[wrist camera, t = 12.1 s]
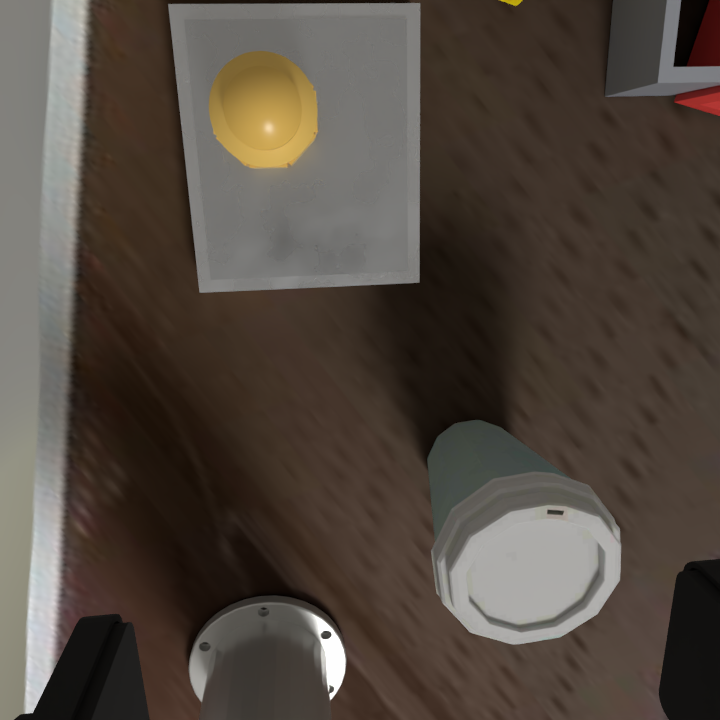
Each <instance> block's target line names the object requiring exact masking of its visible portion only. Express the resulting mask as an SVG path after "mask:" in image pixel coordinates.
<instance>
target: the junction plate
mask: <svg viewBox="0 0 720 720" xmlns="http://www.w3.org/2000/svg"><path fill="white" fill-rule="evenodd" d="M168 7H169V16H170V25H171V34H172V44H173V53H174V62H175V71H176V80H177V90H178V99H179V108H180V117H181V126H182V136H183V145H184V154H185V163H186V172H187V182H188V191H189V200H190V209H191V218H192V228H193V237H194V246H195V255H196V264H197V274H198V283H199V292H200V293H203V292H225V291H247V290H270V289H292V288H314V287H336V286H358V285H380V284H402V283H420V3H327V4H168ZM252 51H268V52H273V53H276V54H279V55H282V56H283V57H286V58H287V59H289V60H290V61H292V62H293V63H295V64H296V65H297V66H298V67H299V68H300V69H301V70H302V71H303V73H304V74H305V75H306V77H307V78H308V80H309V81H310V83H311V84H312V85H313V86H314V91H316V101H317V127H318V133H317V135H316V138H315V140H314V141H313V142H312V144H311V145H310V146H309V147H308V148H307V149H306V150H305V151H304V153H303V154H302V155H301V156H300V157H299V158H298V159H297V161H296V162H295V163H294V164H293V165H292V166H291V165H290V164H289V163H288V168H255V169H254V168H249V167H247V166H245V165H244V164H243V163H241V162H240V161H239V160H238V159H237V158H236V157H235V156H233V155H232V154H231V153H230V152H228V150H227V149H226V148H225V147H224V146H223V145H222V144H221V143H220V142H219V141H218V140H217V139H216V137H217V136H216V135H214V133H213V127H212V124H211V120H210V115H209V96H210V91H211V87H212V85H213V82H214V80H215V78H216V76H217V75H218V73H219V72H220V70H221V69H222V68H223V67H224V66H225V65H226V64H227V63H228V62H229V61H231V60H232V59H234V58H235V57H237V56H239V55H242V54H244V53H248V52H252Z"/></svg>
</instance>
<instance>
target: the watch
mask: <svg viewBox="0 0 720 720" xmlns="http://www.w3.org/2000/svg"><path fill="white" fill-rule="evenodd" d="M500 1H503V2H506V3H509V4H512V5H515V6H516V5H518V4H519V3H520V2H521V1H523V0H500Z"/></svg>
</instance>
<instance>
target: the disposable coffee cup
mask: <svg viewBox="0 0 720 720" xmlns="http://www.w3.org/2000/svg"><path fill="white" fill-rule="evenodd" d="M427 462H428V473H429V483H430V493H431V503H432V514H433V524H434V534H435V544H434V546H433V548H432V550H431V554H432V562H433V570H434V577H435V585H436V593H437V594H438V595H439V596H440V598H441V601H442V603H443V604H444V605H445V606H446V607H447V608H448V609H449V610H450V611H451V612H452V613H453V615H454V616H455V617H456V618H457V619H458V620H459V621H460V622H461V623H462V624H463V625H464V626H465V627H466V628H467V630H468V631H469V632H470V633H474V634H477V635H481V636H485V637H488V638H492V639H495V640H499V641H502V642H506V643H509V644H523V643H529V642H535V641H541V640H547V639H553V638H558V637H561V636H563V635H565V634H566V633H568V632H569V631H571V630H573V629H574V628H576V627H577V626H579V625H581V624H582V623H584V622H585V621H587V620H589V619H590V618H592V617H593V616H595V615H597V614H598V612H599V611H600V609H601V608H602V606H603V605H604V603H605V602H606V600H607V599H608V597H609V596H610V594H611V593H612V591H613V590H614V588H615V587H616V585H617V584H618V582H619V581H620V571H621V565H620V563H621V543H620V529H619V527H618V526H617V525H616V523H615V519H614V518H613V516H612V515H611V514H610V512H609V511H608V510H607V509H606V507H605V506H604V505H603V503H602V502H601V501H600V499H599V498H598V497H597V495H596V494H595V493H594V491H593V490H592V489H591V487H590V486H589V485H587V484H584V483H581V482H578V481H575V480H572V479H570V478H569V477H568V476H566V475H565V474H564V473H562V472H561V471H560V470H558V469H557V468H555V467H554V466H553V465H551V464H550V463H549V462H547V461H546V460H545V459H543V458H542V457H541V456H539V455H538V454H536V453H535V452H534V451H532V450H531V449H530V448H528V447H527V446H526V445H524V444H523V443H522V442H520V441H519V440H517V439H516V438H515V437H513V436H512V435H511V434H509V433H508V432H507V431H505V430H504V429H503V428H501V427H499V426H496V425H493V424H490V423H487V422H484V421H482V420H471V421H465V422H459V423H455V424H453V425H452V426H451V427H449V428H448V429H447V430H445V431H444V432H443V433H441V434H440V435H439V436H438V437H437V438H436V441H435V443H434V445H433V447H432V449H431V451H430V454H429V456H428V458H427Z"/></svg>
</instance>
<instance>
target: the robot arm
mask: <svg viewBox="0 0 720 720" xmlns="http://www.w3.org/2000/svg"><path fill="white" fill-rule="evenodd" d="M345 672H346V650H345V644H344V641H343V637H342V635H341V633H340V631H339V629H338V627H337V626H336V624H335V623H334V622H333V621H332V620H331V619H330V617H329V616H328V615H327V614H325V613H324V612H323V611H321V610H320V609H318V608H317V607H315V606H313V605H311V604H309V603H307V602H305V601H302V600H299V599H295V598H291V597H285V596H276V595H273V596H258V597H253V598H249V599H244V600H242V601H239V602H236V603H234V604H231V605H229V606H228V607H226V608H224V609H223V610H221V611H219V612H218V613H216V614H215V615H214V616H213V617H212V618H211V619H210V620H208V621H207V622H206V624H205V625H204V626H203V628H202V629H201V630H200V631H199V633H198V635H197V637H196V639H195V641H194V643H193V647H192V651H191V655H190V661H189V676H190V682H191V685H192V687H193V690H194V692H195V694H196V695H197V697H198V698H199V700H200V701H201V703H202V705H201V710H200V716H199V720H331V709H330V700H331V699H332V698H333V697H334V696H335V694H336V693H337V691H338V689H339V688H340V686H341V684H342V682H343V678H344V675H345ZM659 697H660V702H661V705H662V708H663V710H664V712H665V714H666V716H667V717H668V719H669V720H720V559H715V560H704V561H693V562H689V563H687V564H686V565H685V567H684V570H683V571H682V572H679V573H678V575H677V578H676V583H675V589H674V596H673V602H672V609H671V615H670V622H669V628H668V635H667V641H666V648H665V654H664V661H663V667H662V674H661V680H660V687H659ZM14 720H150V719H149V714H148V708H147V702H146V696H145V690H144V684H143V678H142V673H141V667H140V661H139V655H138V649H137V643H136V637H135V632H134V627H133V624H132V623H131V622H127V623H123V622H122V618H121V617H120V615H119V614H110V615H99V616H88V617H82V618H81V619H80V620H79V621H78V623H77V624H76V626H75V628H74V630H73V632H72V634H71V636H70V639H69V641H68V643H67V645H66V647H65V649H64V651H63V653H62V655H61V657H60V659H59V661H58V663H57V665H56V667H55V669H54V671H53V673H52V675H51V677H50V679H49V681H48V683H47V685H46V687H45V690H44V692H43V694H42V696H41V698H40V700H39V702H38V704H37V706H36V708H35V710H34V712H33V713H30V714H21V715H19V716H18V717H17V718H16V719H14Z"/></svg>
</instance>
